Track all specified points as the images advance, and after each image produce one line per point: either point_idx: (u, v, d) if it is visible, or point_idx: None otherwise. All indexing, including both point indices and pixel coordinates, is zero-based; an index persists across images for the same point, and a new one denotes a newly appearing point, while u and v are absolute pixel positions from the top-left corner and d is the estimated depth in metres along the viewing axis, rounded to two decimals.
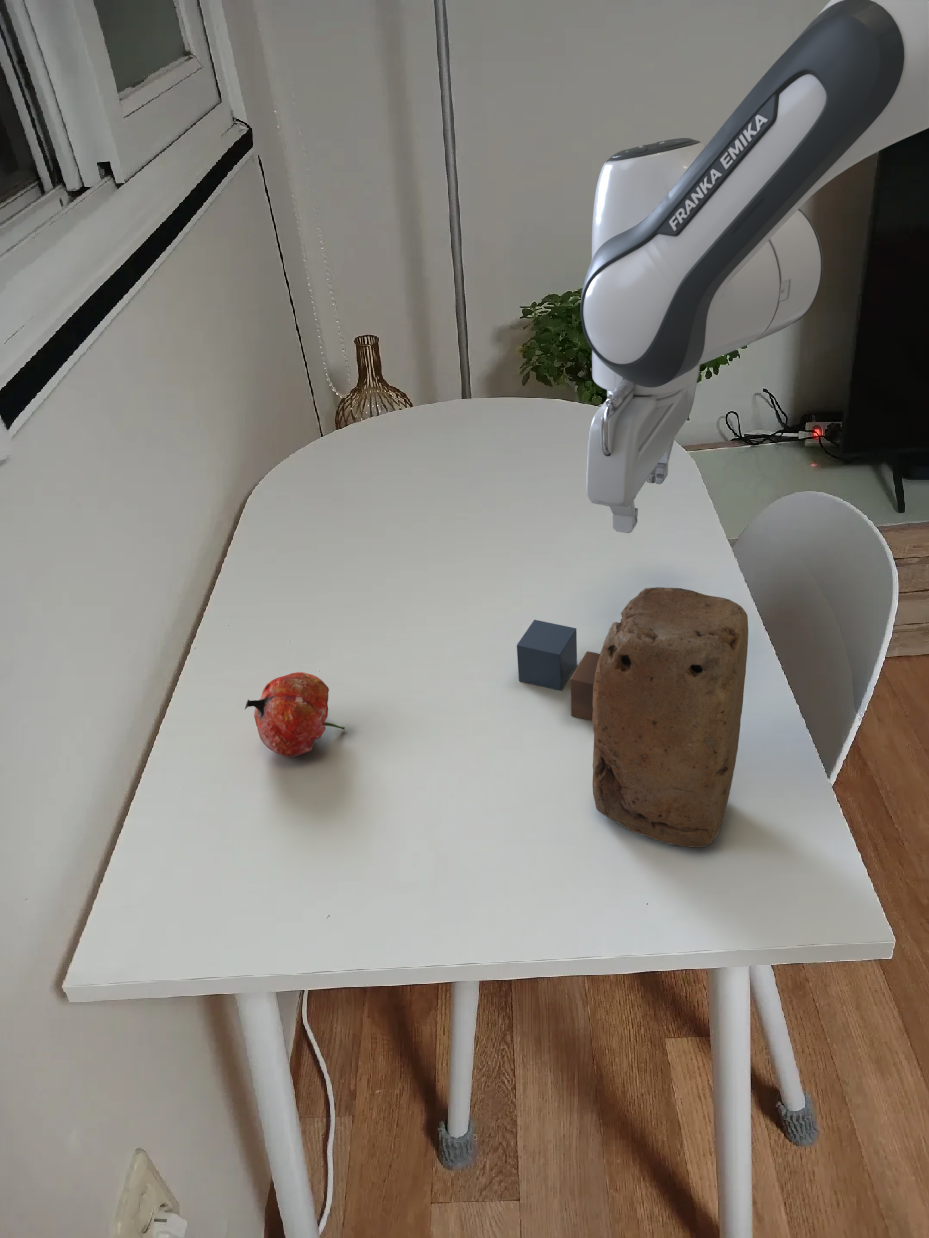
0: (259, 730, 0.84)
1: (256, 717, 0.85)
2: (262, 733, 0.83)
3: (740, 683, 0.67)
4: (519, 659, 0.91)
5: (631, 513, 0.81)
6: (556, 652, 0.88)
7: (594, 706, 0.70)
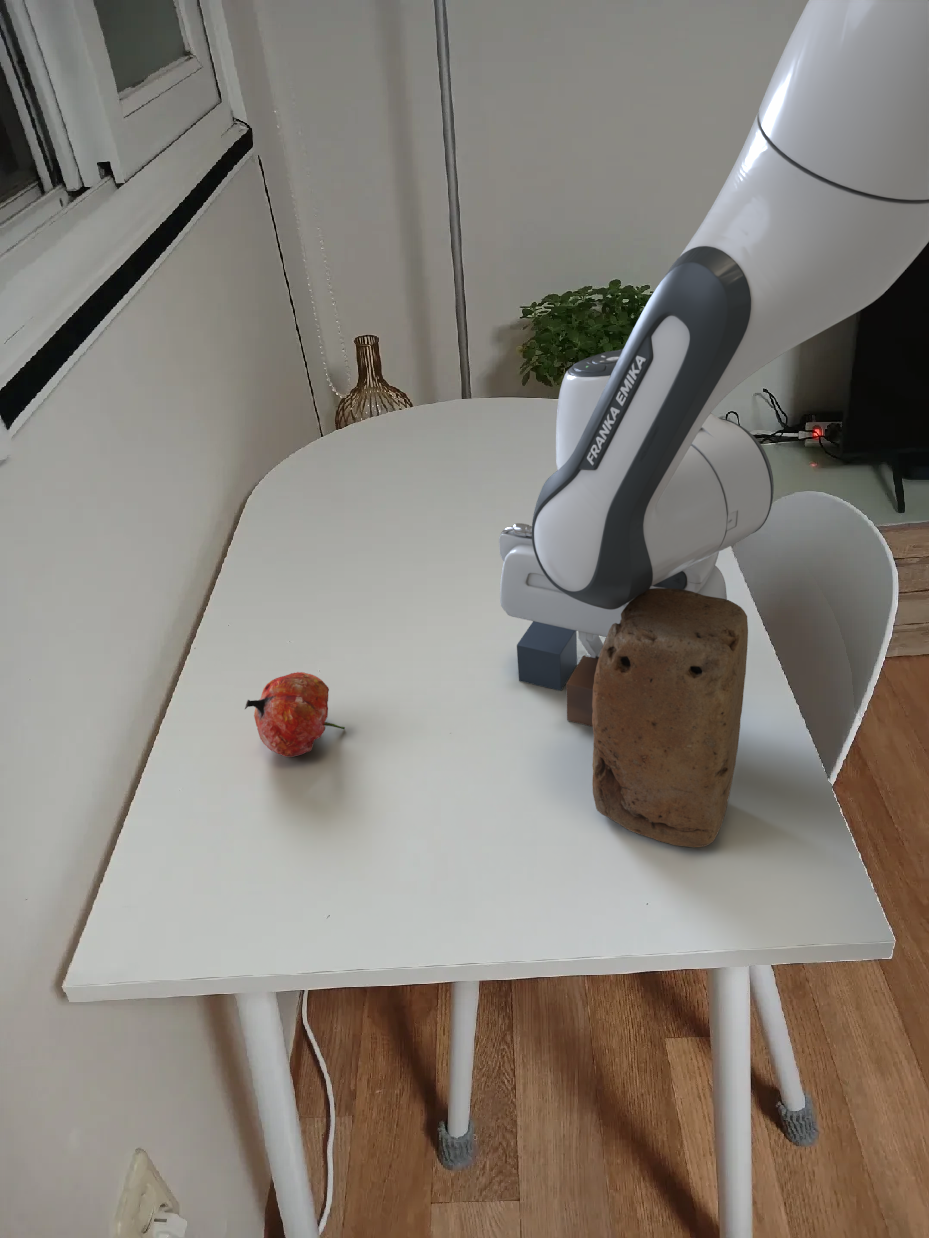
0: (259, 730, 0.84)
1: (256, 717, 0.85)
2: (262, 733, 0.83)
3: (740, 684, 0.67)
4: (519, 659, 0.91)
5: (586, 649, 0.87)
6: (556, 652, 0.88)
7: (594, 707, 0.70)
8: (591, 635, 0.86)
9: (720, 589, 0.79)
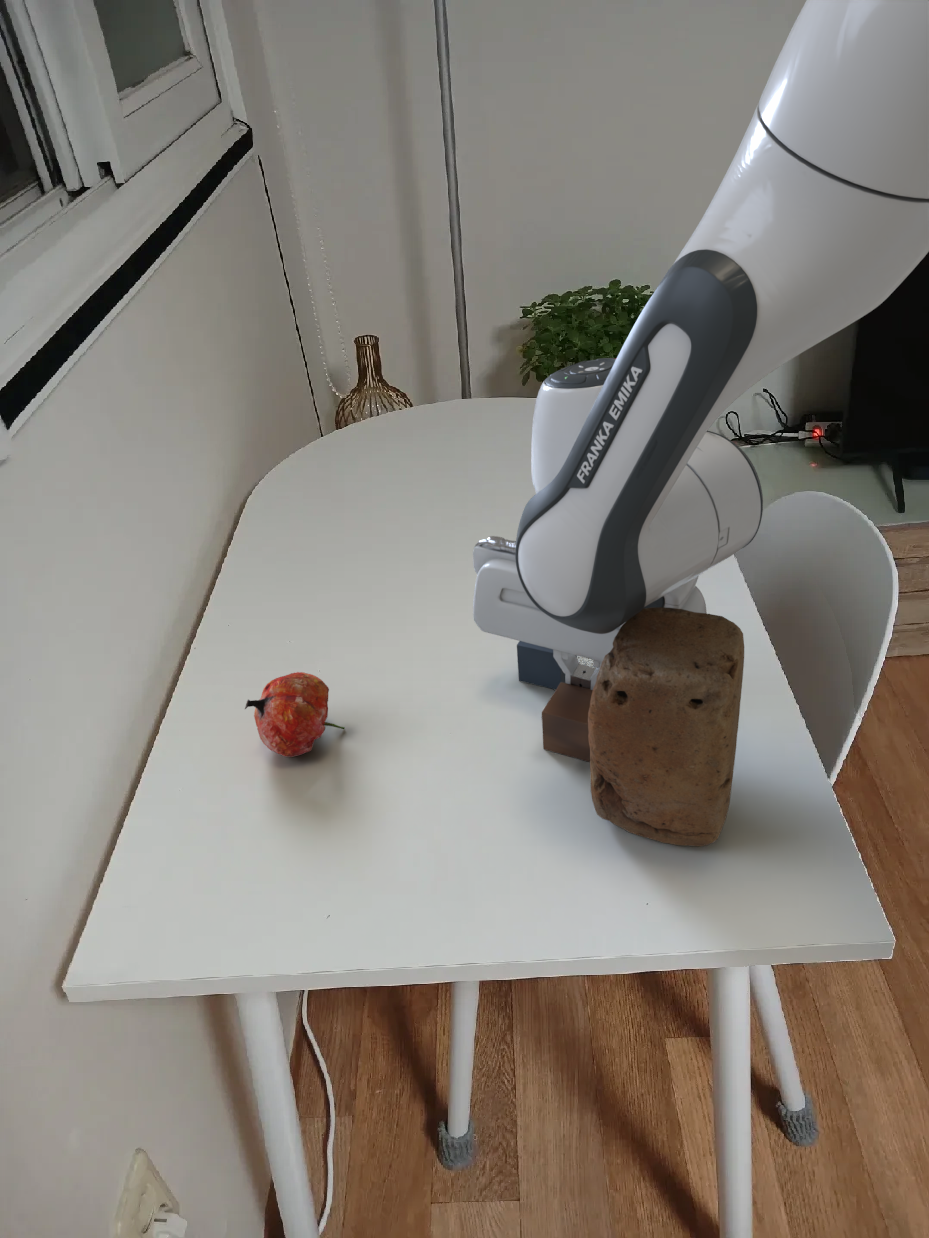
0: (259, 730, 0.84)
1: (256, 717, 0.85)
2: (262, 733, 0.83)
3: (739, 699, 0.65)
4: (519, 659, 0.91)
5: (561, 668, 0.84)
6: None
7: (590, 733, 0.68)
8: (566, 654, 0.83)
9: (700, 611, 0.76)
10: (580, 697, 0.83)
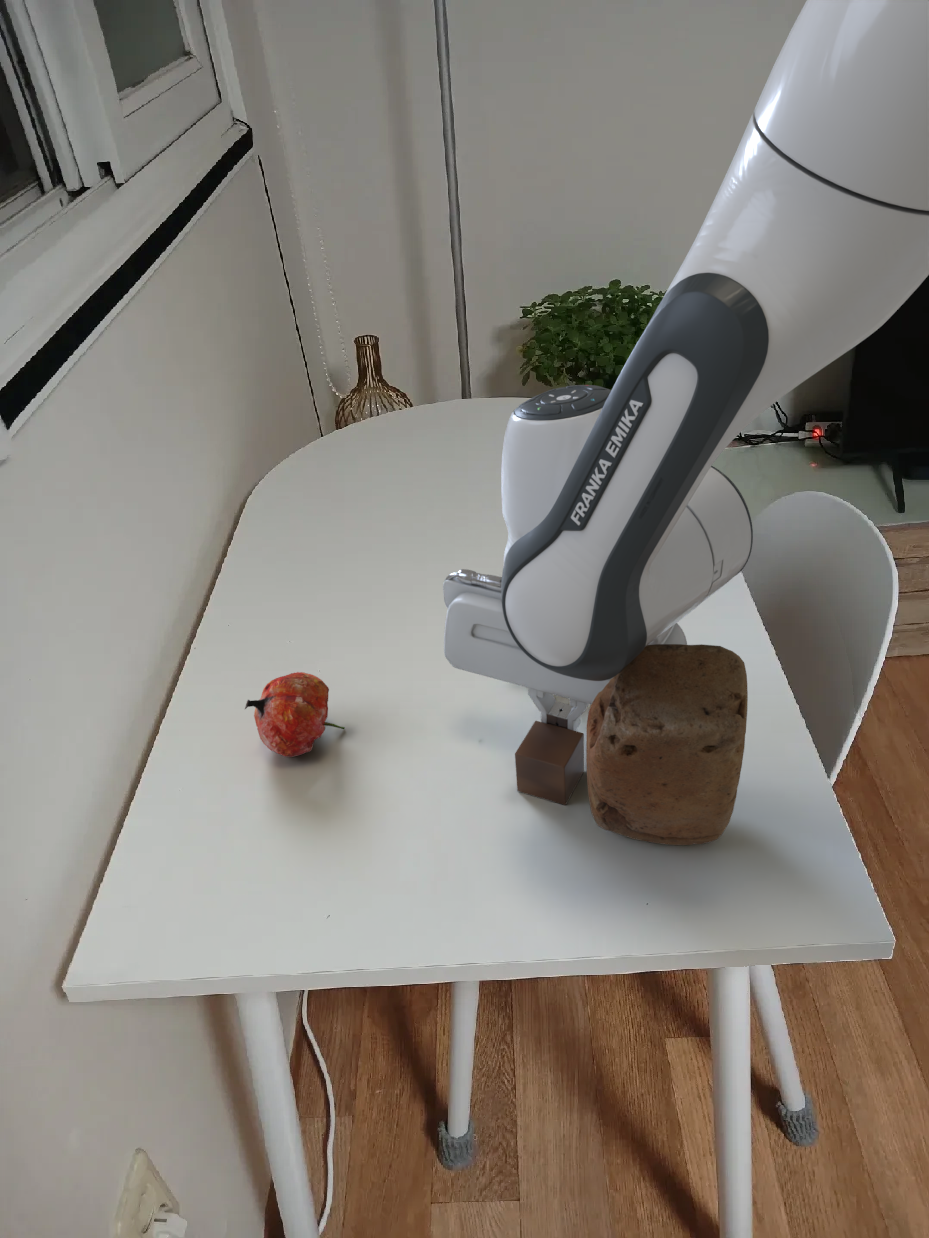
0: (259, 730, 0.84)
1: (256, 717, 0.85)
2: (262, 733, 0.83)
3: None
4: None
5: (537, 706, 0.80)
6: None
7: (595, 774, 0.65)
8: (542, 692, 0.79)
9: None
10: (555, 737, 0.79)
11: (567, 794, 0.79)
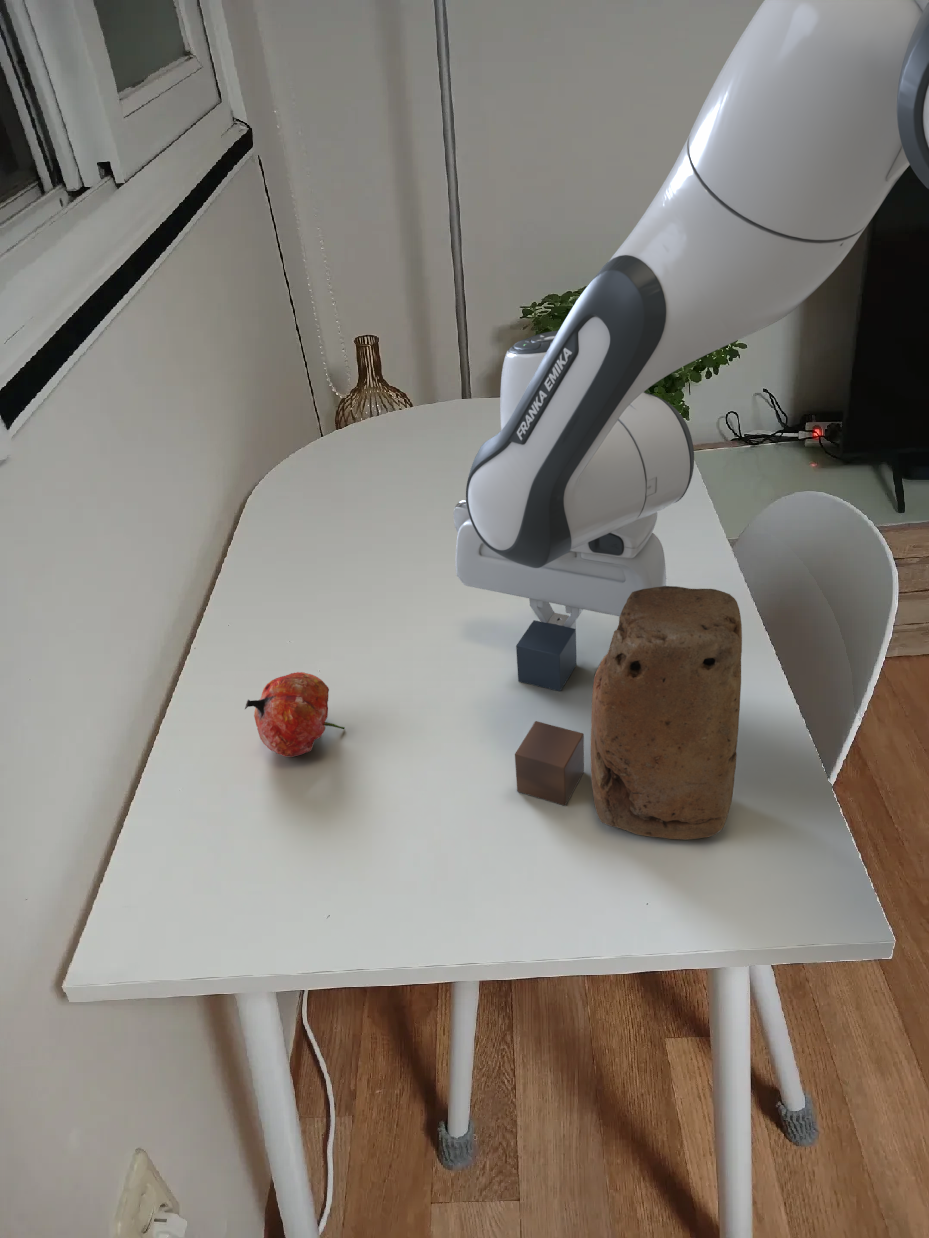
0: (259, 730, 0.84)
1: (256, 717, 0.85)
2: (262, 733, 0.83)
3: None
4: (518, 660, 0.91)
5: (537, 616, 0.92)
6: (555, 653, 0.88)
7: (602, 718, 0.69)
8: (541, 602, 0.91)
9: (657, 555, 0.84)
10: (555, 737, 0.79)
11: (567, 794, 0.78)
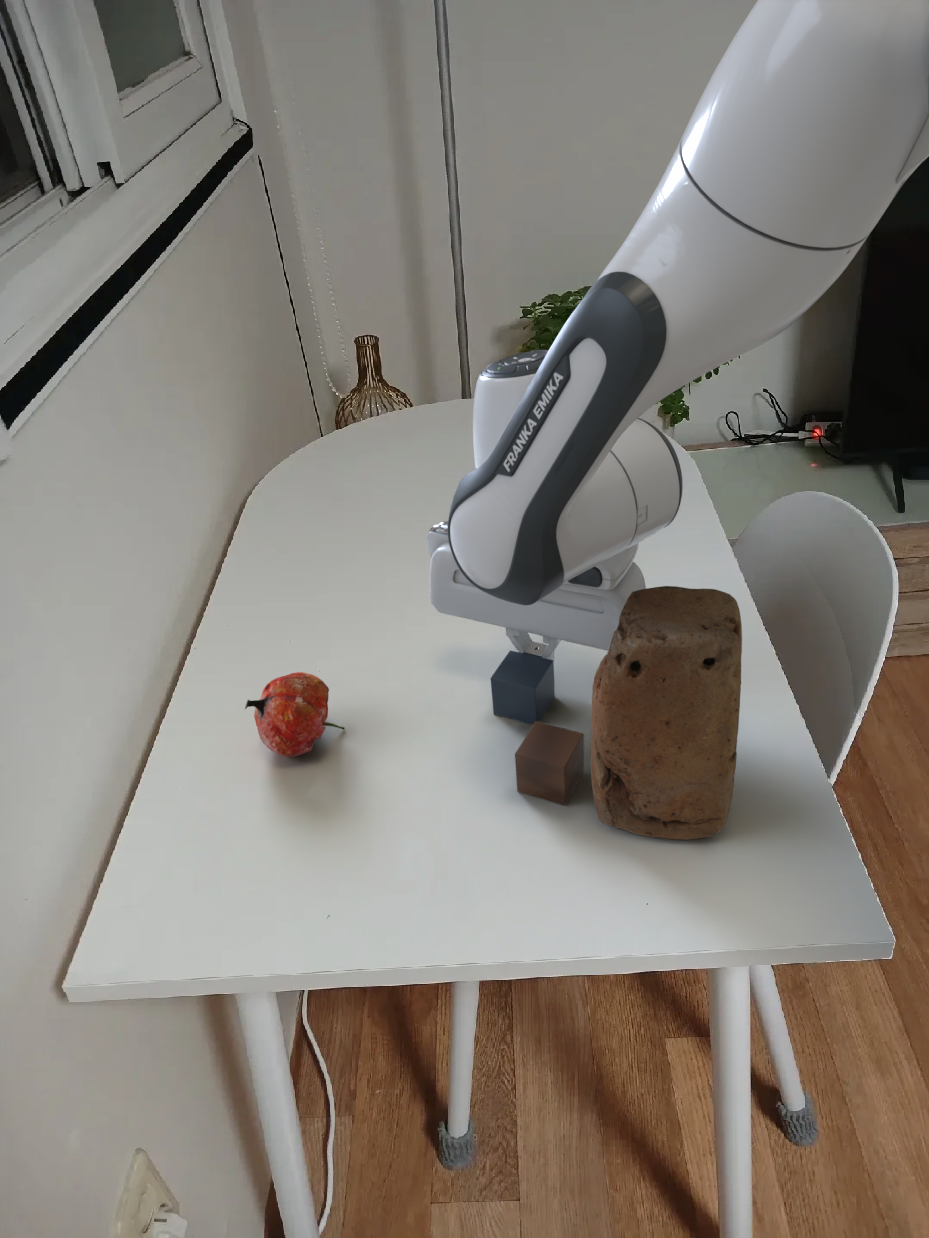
0: (259, 730, 0.84)
1: (256, 717, 0.85)
2: (262, 733, 0.83)
3: None
4: (493, 692, 0.87)
5: (514, 645, 0.89)
6: (531, 687, 0.85)
7: (602, 718, 0.69)
8: (518, 631, 0.87)
9: (638, 586, 0.80)
10: (555, 737, 0.79)
11: (567, 794, 0.78)
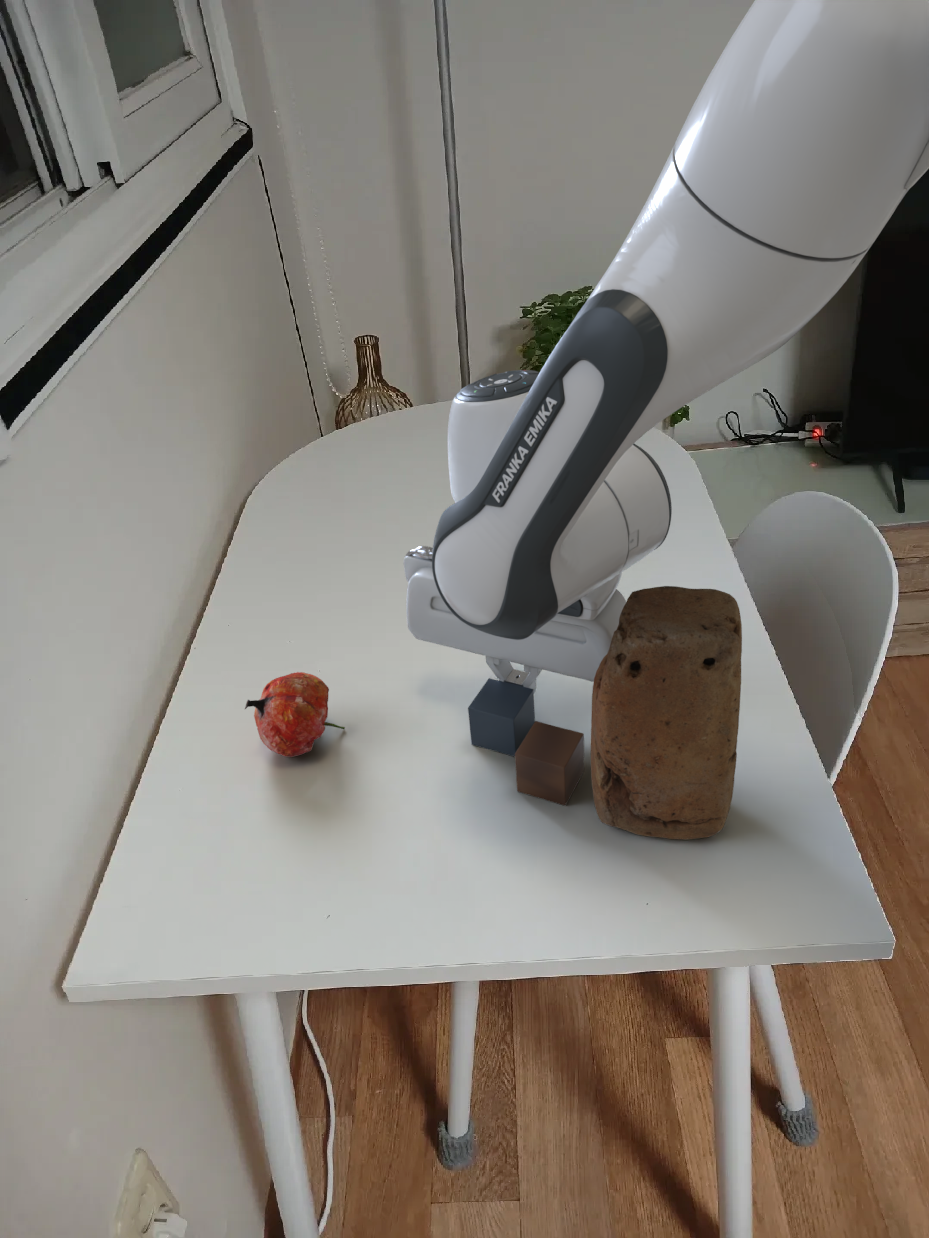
0: (259, 730, 0.84)
1: (256, 717, 0.85)
2: (262, 733, 0.83)
3: None
4: (471, 722, 0.84)
5: (495, 673, 0.86)
6: (509, 717, 0.82)
7: (602, 718, 0.69)
8: (498, 659, 0.84)
9: None
10: (555, 737, 0.79)
11: (567, 794, 0.78)
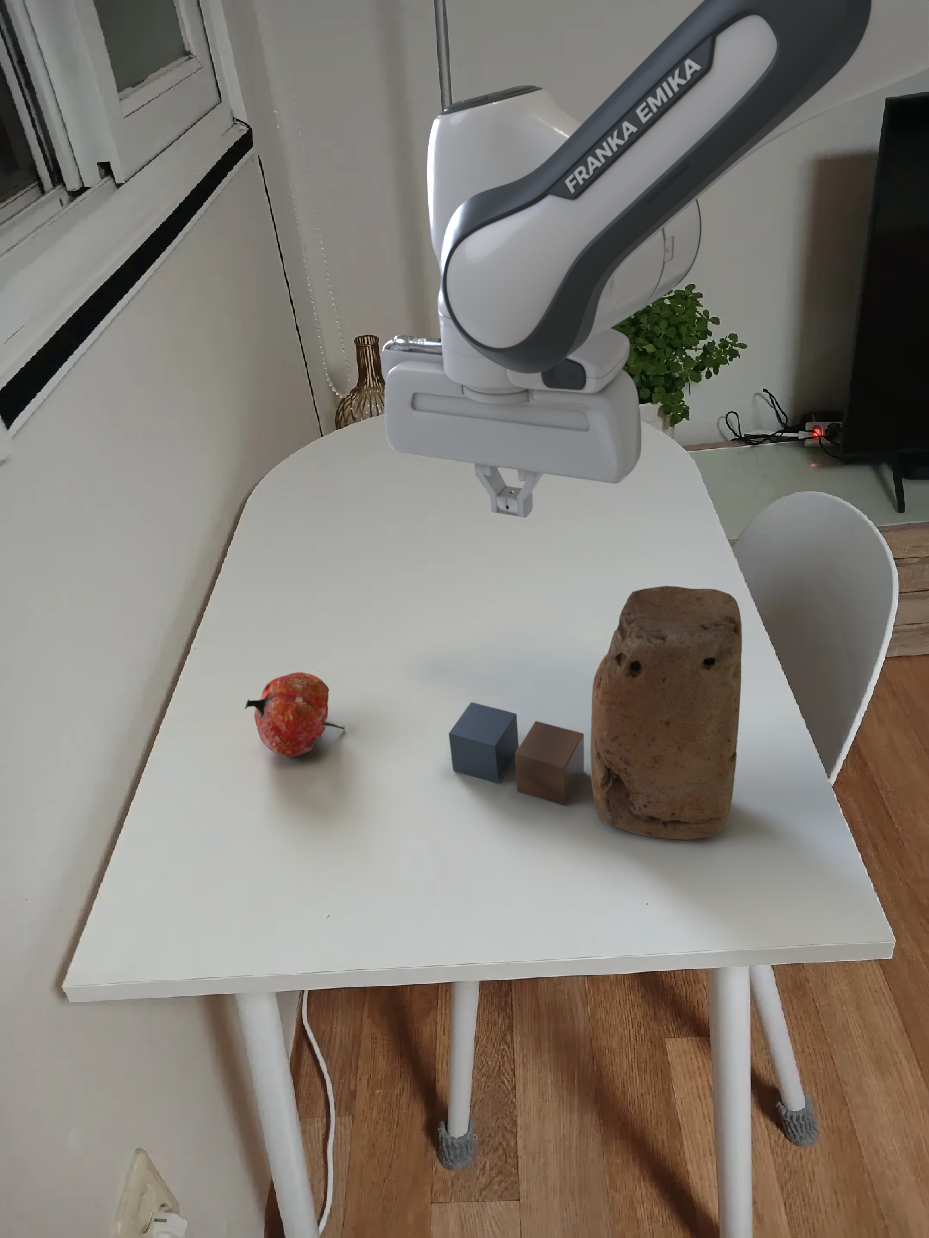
0: (259, 730, 0.84)
1: (256, 717, 0.85)
2: (262, 733, 0.83)
3: None
4: (452, 748, 0.81)
5: (485, 489, 0.75)
6: (491, 744, 0.79)
7: (602, 718, 0.69)
8: (489, 469, 0.74)
9: (630, 396, 0.67)
10: (555, 737, 0.79)
11: (567, 794, 0.78)
